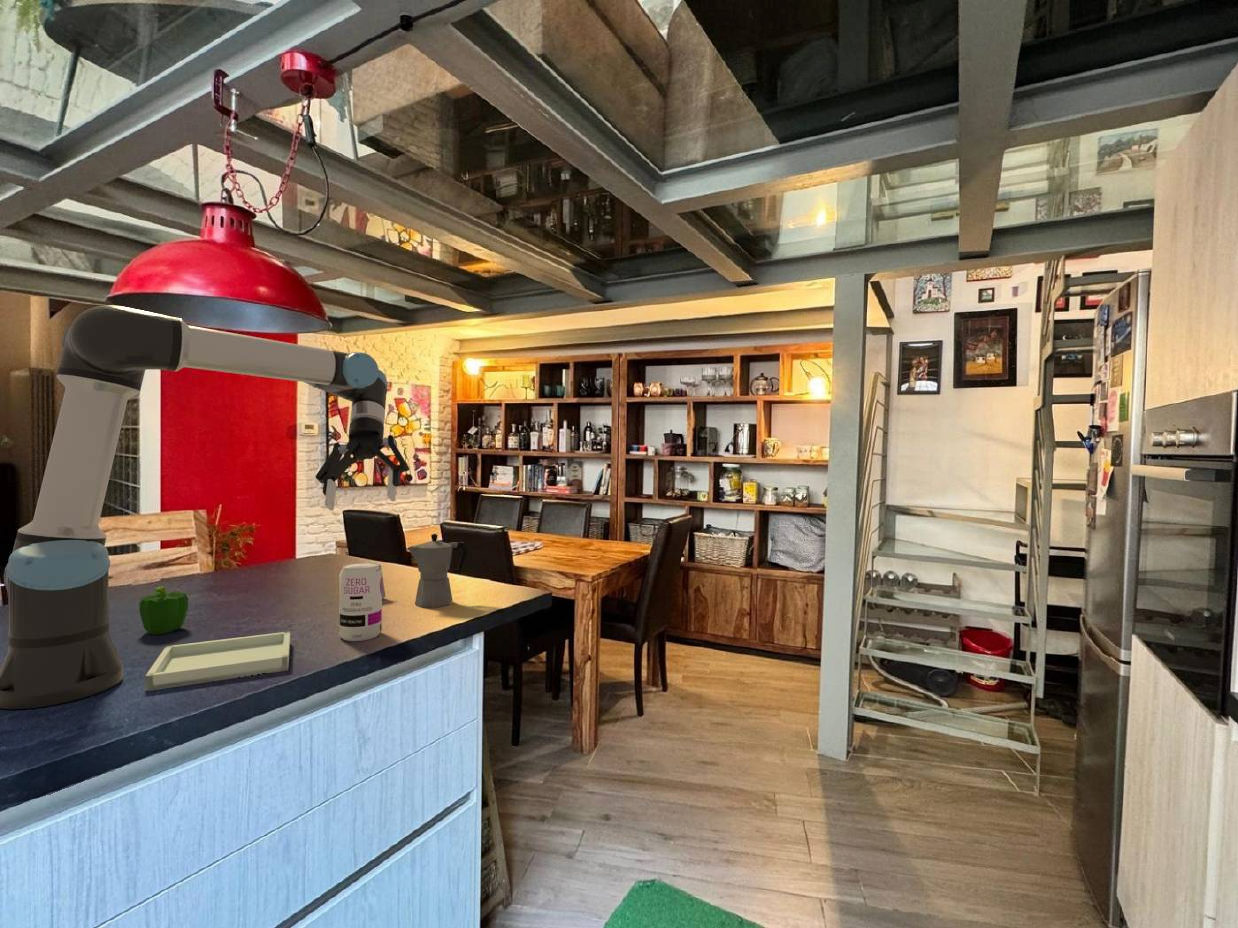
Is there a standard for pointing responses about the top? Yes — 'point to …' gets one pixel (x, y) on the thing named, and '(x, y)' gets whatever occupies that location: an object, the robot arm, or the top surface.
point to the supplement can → (360, 601)
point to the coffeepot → (436, 571)
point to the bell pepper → (163, 611)
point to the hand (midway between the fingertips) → (360, 503)
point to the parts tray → (219, 660)
